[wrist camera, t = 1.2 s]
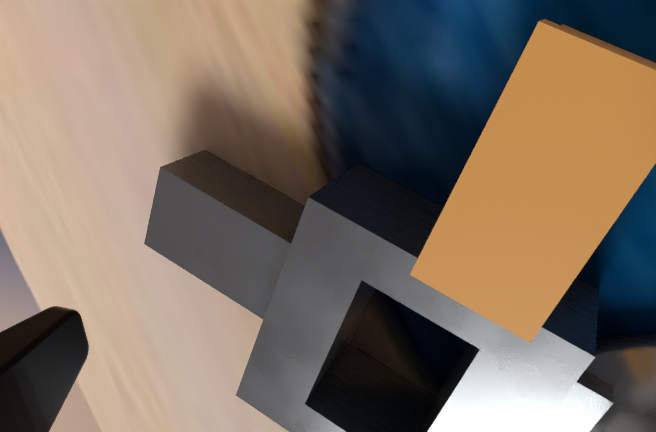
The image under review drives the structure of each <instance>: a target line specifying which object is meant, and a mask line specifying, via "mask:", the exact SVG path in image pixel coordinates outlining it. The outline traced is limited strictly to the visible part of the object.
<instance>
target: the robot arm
mask: <svg viewBox="0 0 656 432" xmlns="http://www.w3.org/2000/svg"><path fill="white" fill-rule="evenodd" d="M88 350H89V345H88V341H87V337H86V333H85V329H84V326H83V322H82V318H81V316H80V314H79V313H78V312H77V311H76V310H72V309H68V308H63V307H58V306H54V307H50V308H48V309H45V310H43V311H42V312H40V313H38V314H36V315H34V316H32V317H30V318H28V319H26V320H24V321H22V322H20V323H18V324H16V325H14V326H12V327H10V328H8V329H6V330H4V331H2V332H0V432H49V430H50V428H51V427H52V425H53V423H54V421H55V419H56V417H57V415H58V413H59V411H60V409H61V407H62V405H63V403H64V401H65V399H66V398H67V396H68V394H69V392H70V390H71V388H72V386H73V384H74V382H75V380H76V378H77V376H78V374H79V372H80V370H81V368H82V367H83V365H84V363H85V361H86V358H87V355H88Z"/></svg>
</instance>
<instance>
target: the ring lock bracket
mask: <svg viewBox="0 0 656 432" xmlns="http://www.w3.org/2000/svg"><path fill="white" fill-rule="evenodd" d="M443 208H444V207H442V206H440V205H438V204H436V203H434V202H433V201H431V200H429V199H427V198H425V197H423V196H421V195H419V194H417V193H415V192H414V191H412V190H410V189H408V188H406V187H404V186H402V185H400V184H398V183H396V182H395V181H393V180H391V179H389V178H387V177H385V176H383V175H381V174H379V173H378V172H376V171H374V170H372V169H370V168H368V167H366V166H364V165H362V164H360V163H359V164H357V165H356V166H354V167H353V168H351V169H350V170H348V171H347V172H345V173H344V174H342V175H341V176H339V177H338V178H336V179H335V180H333V181H332V182H330V183H329V184H327V185H326V186H324V187H323V188H321V189H320V190H318V191H317V192H315V193H314V194H312V195H311V196H309V197H308V199H307V202H306V205H305V206H303V205H301V204H300V203H298V202H296V201H294V200H293V199H291V198H289V197H287V196H285V195H284V194H282V193H280V192H278V191H277V190H275V189H273V188H271V187H269V186H268V185H266V184H264V183H262V182H261V181H259V180H257V179H255V178H253V177H252V176H250V175H248V174H246V173H245V172H243V171H241V170H239V169H237V168H236V167H234V166H232V165H230V164H229V163H227V162H225V161H223V160H222V159H220V158H218V157H216V156H214V155H213V154H211V153H209V152H207V151H206V150H203V151H201V152H198V153H196V154H193V155H190V156H188V157H185V158H183V159H180V160H177V161H175V162H172V163H170V164H167V165H164V166H162V167H160V171H159V176H158V180H157V185H156V190H155V195H154V200H153V205H152V209H151V214H150V219H149V224H148V229H147V234H146V238H145V243H144V244H145V245H147V246H148V247H150V248H152V249H153V250H155V251H156V252H158V253H159V254H161V255H163V256H164V257H166V258H167V259H169V260H170V261H172V262H174V263H175V264H177V265H178V266H180V267H182V268H183V269H185V270H186V271H188V272H189V273H191V274H193V275H194V276H196V277H197V278H199V279H200V280H202V281H204V282H205V283H207V284H208V285H210V286H212V287H213V288H215V289H216V290H218V291H219V292H221V293H223V294H224V295H226V296H227V297H229V298H230V299H232V300H234V301H235V302H237V303H238V304H240V305H241V306H243V307H245V308H246V309H248V310H249V311H251V312H253V313H254V314H256V315H257V316H259V317H260V318H262V319H264V320H263V323H262V325H261V328H260V331H259V333H258V336H257V339H256V342H255V344H254V347H253V350H252V353H251V355H250V358H249V361H248V364H247V366H246V369H245V372H244V375H243V377H242V380H241V383H240V386H239V388H238V391H237V394H236V396H238V397H239V398H241V399H242V400H244V401H245V402H247V403H248V404H250V405H251V406H253V407H254V408H255V409H257V410H258V411H260V412H261V413H263V414H264V415H266V416H267V417H269V418H270V419H272V420H273V421H274V422H276V423H277V424H279V425H280V426H282V427H283V428H285V429H286V430H288V431H289V432H656V334H648V333H647V334H632V335H622V336H617V337H611V338H605V339H601V340H598V341H596V337H597V319H598V301H599V289H598V288H596V287H594V286H592V285H590V284H588V283H586V282H584V281H582V280H581V279H579V278H577V277H576V278H575V279H574V281H573V282H572V284H571V285H570V287H569V288H568V290H567V291H566V292H565V294H564V295H563V297H562V298H561V300H560V301H559V302H558V304H557V305H556V307H555V308H554V310H553V311H552V313H551V314H550V315H549V317H548V318H547V320H546V321H545V323H544V324H543V325H542V327H541V328H540V330H539V331H538V333H537V334H536V335H535V337H534V338H533V340H532V341H531V343H529V342H527V341H526V340H524V339H522V338H520V337H518V336H517V335H515V334H513V333H511V332H510V331H508V330H506V329H504V328H503V327H501V326H499V325H497V324H496V323H494V322H492V321H490V320H489V319H487V318H485V317H483V316H481V315H480V314H478V313H476V312H474V311H473V310H471V309H469V308H467V307H466V306H464V305H462V304H460V303H459V302H457V301H455V300H453V299H451V298H450V297H448V296H446V295H444V294H443V293H441V292H439V291H437V290H436V289H434V288H432V287H430V286H429V285H427V284H425V283H423V282H422V281H420V280H418V279H416V278H414V277H413V276H411V275H410V273H411V271H412V269H413V267H414V265H415V263H416V261H417V259H418V257H419V255H420V253H421V251H422V250H423V248H424V246H425V244H426V242H427V240H428V238H429V236H430V234H431V232H432V230H433V228H434V226H435V224H436V222H437V220H438V218H439V216H440V214H441V212H442V210H443ZM376 289H378V290H379V291H381V292H383V293H384V294H386V295H388V296H390V297H391V298H393V299H395V300H396V301H398V302H400V303H402V304H403V305H405V306H407V307H408V308H410V309H412V310H414V311H415V312H417V313H419V314H420V315H422V316H424V317H426V318H427V319H429V320H431V321H432V322H434V323H436V324H438V325H439V326H441V327H443V328H444V329H446V330H448V331H450V332H451V333H453V334H455V335H456V336H458V337H460V338H462V339H463V340H465V341H467V342H468V343H469V344H468V346H467V347H466V349H465V350H464V352H463V354H462V355H461V357H460V358H459V360H458V362H457V363H456V365H455V366H454V368H453V370H452V371H451V373H450V375H449V376H448V378H447V379H446V381H445V383H444V384H443V386H442V387H441V389H440V391H439V392H438V394H437V395H436V397H434V396H433V395H431V394H429V393H428V392H426V391H425V390H423V389H421V388H420V387H418V386H416V385H415V384H413V383H412V382H410V381H408V380H407V379H405V378H404V377H402V376H400V375H399V374H397V373H395V372H394V371H392V370H391V369H389V368H387V367H386V366H384V365H383V364H381V363H379V362H378V361H376V360H375V359H373V358H371V357H370V356H368V355H366V354H365V353H363V352H362V351H360V350H358V349H357V348H355V347H354V346H352V345H350V343H351V341H352V339H353V337H354V335H355V332H356V330H357V328H358V326H359V324H360V322H361V320H362V318H363V316H364V314H365V312H366V310H367V308H368V305H369V303H370V301H371V299H372V297H373V295H374V293H375V291H376Z"/></svg>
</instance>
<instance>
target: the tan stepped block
mask: <svg viewBox="0 0 656 432" xmlns="http://www.w3.org/2000/svg"><path fill="white" fill-rule="evenodd" d="M655 163H656V63H655V62H652V61H650V60H648V59H645V58H643V57H640V56H638V55H636V54H633V53H631V52H628V51H626V50H624V49H621V48H619V47H616V46H614V45H612V44H609V43H607V42H604V41H602V40H600V39H597V38H595V37H592V36H590V35H588V34H585V33H583V32H580V31H578V30H576V29H573V28H571V27H568V26H566V25H564V24H562V25H561V26H560V25H558V24H556V23H553V22H551V21H548V20H546V19H543V20H540V21H539V22H538V24H537V26H536V28H535V30H534V32H533V34H532V36H531V37H530V39H529V41H528V43H527V45H526V47H525V49H524V51H523V53H522V55H521V57H520V59H519V61H518V63H517V65H516V67H515V69H514V71H513V73H512V75H511V77H510V79H509V81H508V83H507V85H506V87H505V89H504V90H503V92H502V94H501V96H500V98H499V100H498V102H497V104H496V106H495V108H494V110H493V112H492V114H491V116H490V118H489V120H488V122H487V124H486V126H485V128H484V130H483V132H482V134H481V136H480V138H479V140H478V142H477V143H476V145H475V147H474V149H473V151H472V153H471V155H470V157H469V159H468V161H467V163H466V165H465V167H464V169H463V171H462V173H461V175H460V177H459V179H458V181H457V183H456V185H455V187H454V189H453V191H452V193H451V195H450V197H449V198H448V200H447V202H446V204H445V206H444V208H443V210H442V212H441V214H440V216H439V218H438V220H437V222H436V224H435V226H434V228H433V230H432V232H431V234H430V236H429V238H428V240H427V242H426V244H425V246H424V248H423V250H422V251H421V253H420V255H419V257H418V259H417V261H416V263H415V265H414V267H413V269H412V271H411V273H410V275H411V276H413V277H414V278H416V279H418V280H420V281H422V282H423V283H425V284H427V285H429V286H430V287H432V288H434V289H436V290H437V291H439V292H441V293H443V294H444V295H446V296H448V297H450V298H451V299H453V300H455V301H457V302H459V303H460V304H462V305H464V306H466V307H467V308H469V309H471V310H473V311H474V312H476V313H478V314H480V315H481V316H483V317H485V318H487V319H489V320H490V321H492V322H494V323H496V324H497V325H499V326H501V327H503V328H504V329H506V330H508V331H510V332H511V333H513V334H515V335H517V336H518V337H520V338H522V339H524V340H526V341H527V342H529V343H531V341H532V340H533V338H534V337H535V335H536V334H537V333H538V331H539V330H540V328H541V327H542V325H543V324H544V323H545V321H546V320H547V318H548V317H549V315H550V314H551V313H552V311H553V310H554V308H555V307H556V305H557V304H558V302H559V301H560V300H561V298H562V297H563V295H564V294H565V292H566V291H567V290H568V288H569V287H570V285H571V284H572V282H573V281H574V279H575V278H576V277H577V275H578V274H579V272H580V271H581V269H582V268H583V267H584V265H585V264H586V262H587V261H588V259H589V258H590V257H591V255H592V254H593V252H594V251H595V249H596V248H597V246H598V245H599V244H600V242H601V241H602V239H603V238H604V236H605V235H606V234H607V232H608V231H609V229H610V228H611V226H612V225H613V223H614V222H615V221H616V219H617V218H618V216H619V215H620V213H621V212H622V211H623V209H624V208H625V206H626V205H627V203H628V202H629V201H630V199H631V198H632V196H633V195H634V193H635V192H636V190H637V189H638V188H639V186H640V185H641V183H642V182H643V180H644V179H645V178H646V176H647V175H648V173H649V172H650V170H651V169H652V167H653V166H654V165H655Z"/></svg>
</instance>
